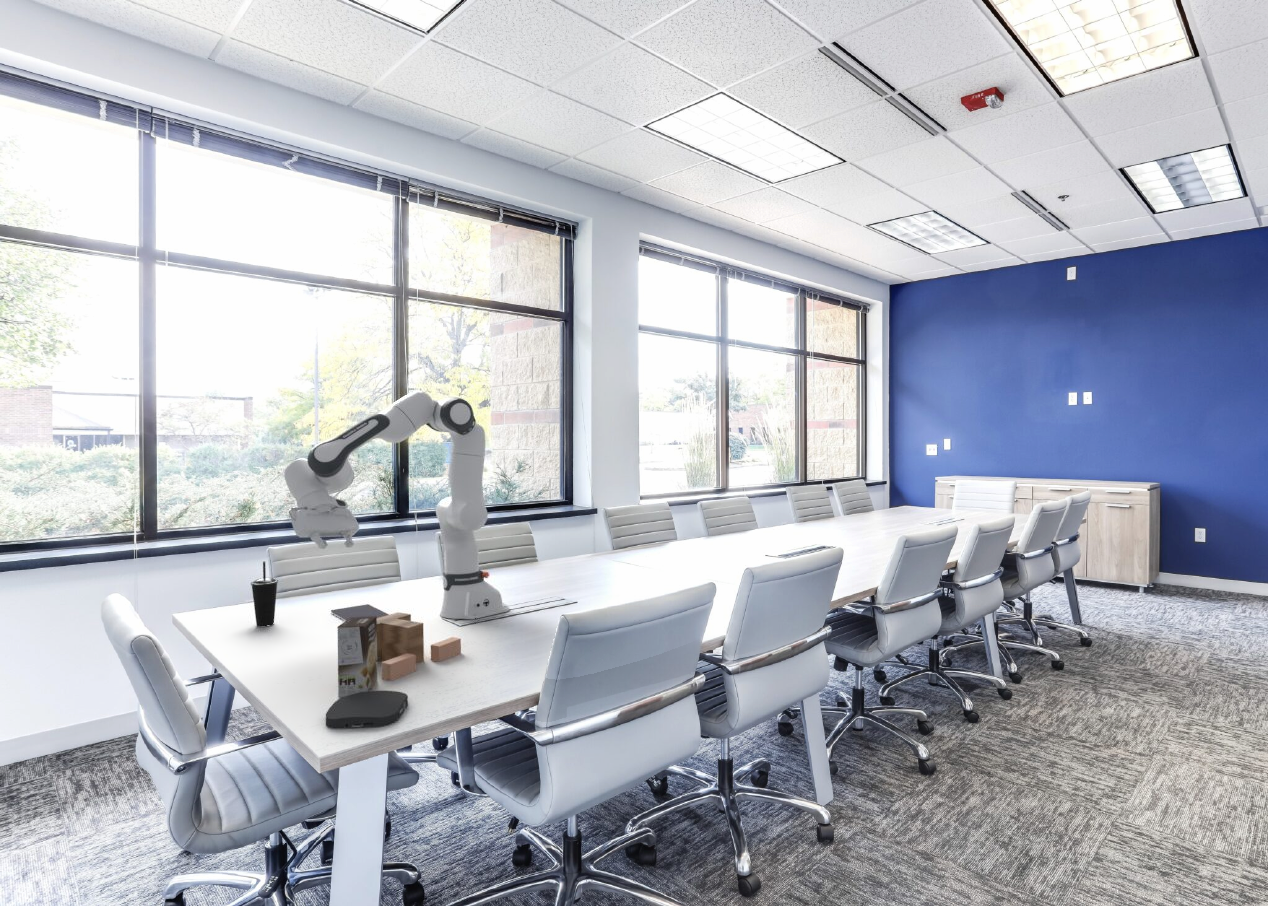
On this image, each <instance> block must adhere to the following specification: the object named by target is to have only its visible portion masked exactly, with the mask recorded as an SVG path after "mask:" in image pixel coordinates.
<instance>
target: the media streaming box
mask: <svg viewBox="0 0 1268 906" xmlns="http://www.w3.org/2000/svg"><path fill="white" fill-rule="evenodd" d="M408 700H409V697H408V694H407V693H405V692H403V691H397V690H396V691H395V690H385V689H383V690H379V689H378V690H370V691H366V692H360V693H355V694H352V695H348V696H345V697H339V698H338V699H336V700H335V701H334V702H333V703H332V704H331V706H329V708H328V709H327V711H326V712H325V727H328V728H329V729H336V730H337V729H340V730H341V729H343V730H344V729H345V730H346V729H370V728H381V727H386V726H390V725H392V724H394V723H397V722H398V721H399V719H400V718H401V717H402V716H403V714H404V713H405V711H406V709H407V707H408V705H409V701H408Z"/></svg>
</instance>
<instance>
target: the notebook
mask: <svg viewBox="0 0 1268 906" xmlns="http://www.w3.org/2000/svg"><path fill="white" fill-rule="evenodd" d="M330 613H333V614H334V615H336V616H337V617H336V616H335V617H336V618H338V617H339V618H341V619H342V620H341V619H340V620H341V621H343V620H344V621H346V620H348V619H349V618H351V617H377V618H380V617H383V616H387V615H390V614H389V613H387V612H385V611H383V610H381V609H378V608H376V607H374V606H373V605H370V604H368V603H367V604H362V605H361V604H360V605H355V606H348V607H342V608H337V609H331V610H330ZM333 614H332V615H333ZM334 615H333V616H334ZM339 618H338V619H339ZM344 621H343V622H344Z"/></svg>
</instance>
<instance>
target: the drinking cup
mask: <svg viewBox="0 0 1268 906" xmlns="http://www.w3.org/2000/svg"><path fill="white" fill-rule="evenodd" d="M266 572H267V571H266V561H262V577H261V578H258V579H256V580H253V581H251V582H250V585H251V590H252V591H251V592H252V597H253V598H252V599H253V606H254V616H255V622H256V623H255V624H256V627H258V626H265V627H268V626H267V625H271V626H273V625H274V624H275V616H276V615H275V614H276V602H277V591H278V590H277V589H278V583H279V580H278V579H276V578H272V577H267V576H266ZM273 623H274V624H273ZM272 624H273V625H272Z"/></svg>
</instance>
